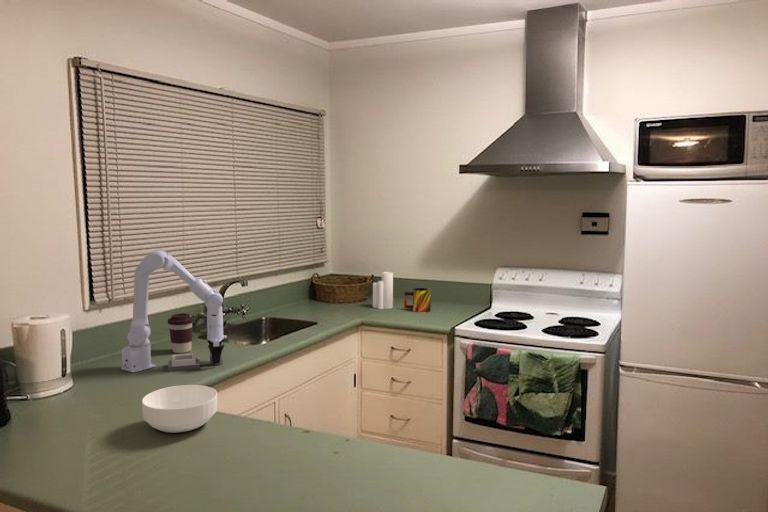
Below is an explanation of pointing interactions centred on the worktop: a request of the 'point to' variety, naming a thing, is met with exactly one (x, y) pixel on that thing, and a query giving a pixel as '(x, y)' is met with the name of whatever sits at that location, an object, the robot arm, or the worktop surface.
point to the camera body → (184, 362)
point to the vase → (383, 292)
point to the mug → (419, 300)
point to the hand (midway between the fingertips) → (216, 360)
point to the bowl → (179, 407)
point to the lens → (212, 361)
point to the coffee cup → (181, 332)
